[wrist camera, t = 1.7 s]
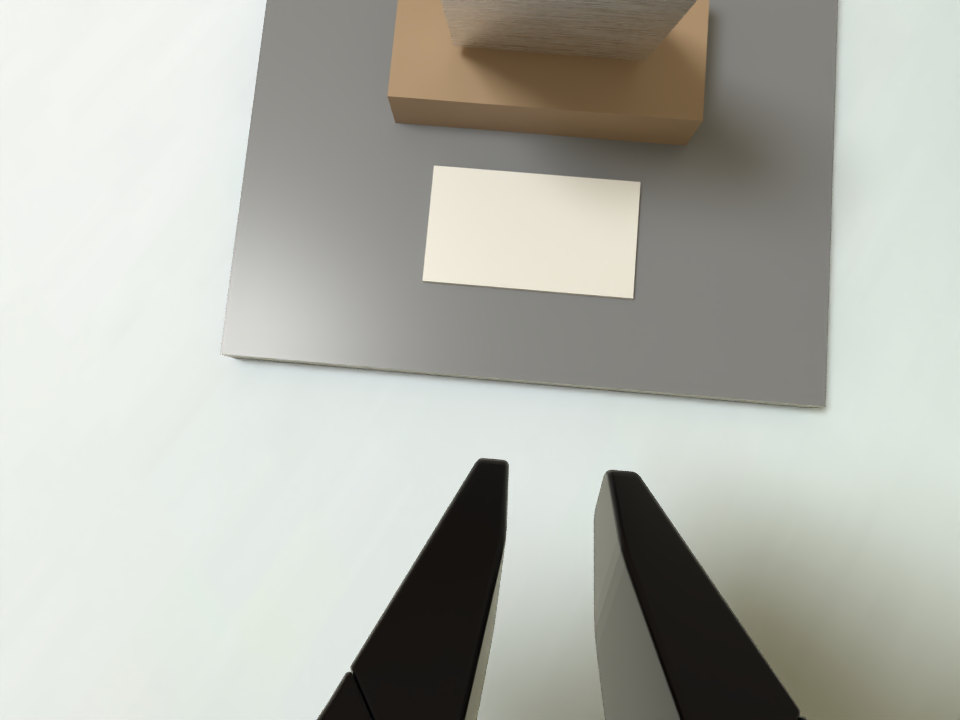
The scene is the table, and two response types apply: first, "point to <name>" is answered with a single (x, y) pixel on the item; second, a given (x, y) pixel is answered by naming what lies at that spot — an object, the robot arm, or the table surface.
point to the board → (542, 203)
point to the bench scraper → (565, 25)
